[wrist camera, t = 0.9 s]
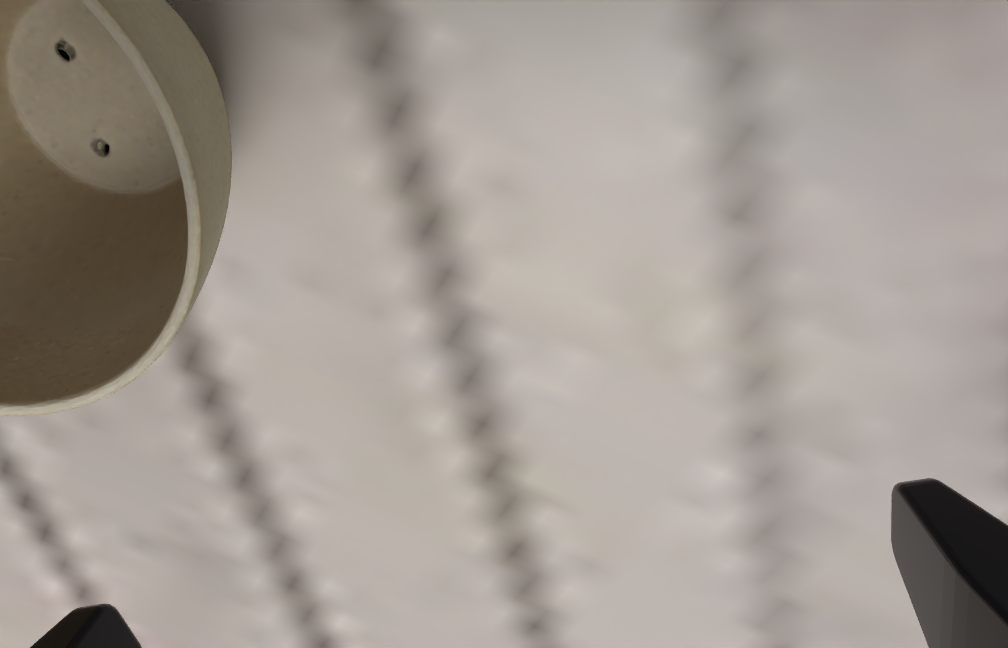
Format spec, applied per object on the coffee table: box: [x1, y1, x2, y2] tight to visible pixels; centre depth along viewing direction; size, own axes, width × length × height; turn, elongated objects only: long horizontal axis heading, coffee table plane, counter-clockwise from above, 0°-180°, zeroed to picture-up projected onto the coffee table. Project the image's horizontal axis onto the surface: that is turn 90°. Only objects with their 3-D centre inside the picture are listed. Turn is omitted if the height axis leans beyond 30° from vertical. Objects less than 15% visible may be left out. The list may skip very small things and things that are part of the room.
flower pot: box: [0, 0, 232, 416], centre depth 18 cm, size 10×10×7 cm
